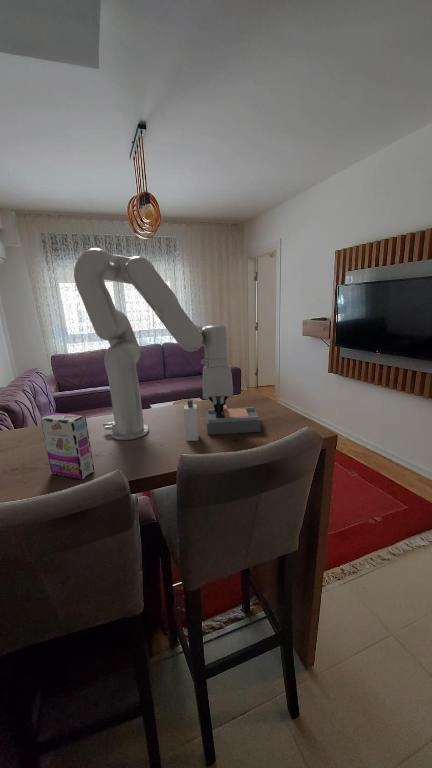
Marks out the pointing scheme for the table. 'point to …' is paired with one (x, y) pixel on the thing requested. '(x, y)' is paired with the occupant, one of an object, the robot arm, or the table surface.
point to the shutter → (235, 412)
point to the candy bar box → (68, 444)
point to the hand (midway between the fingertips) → (219, 413)
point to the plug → (191, 421)
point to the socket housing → (233, 422)
